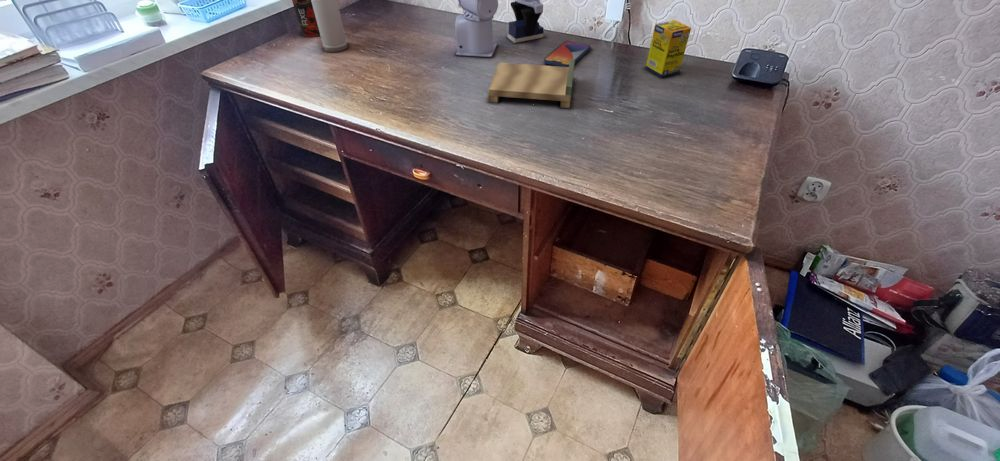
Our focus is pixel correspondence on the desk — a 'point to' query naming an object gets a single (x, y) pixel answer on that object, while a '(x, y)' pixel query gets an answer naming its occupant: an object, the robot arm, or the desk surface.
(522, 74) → the shelf
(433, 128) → the desk surface
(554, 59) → the smartphone
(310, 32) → the deodorant
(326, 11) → the travel mug
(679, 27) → the supplement box
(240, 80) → the desk surface
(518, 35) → the white-based navy block
